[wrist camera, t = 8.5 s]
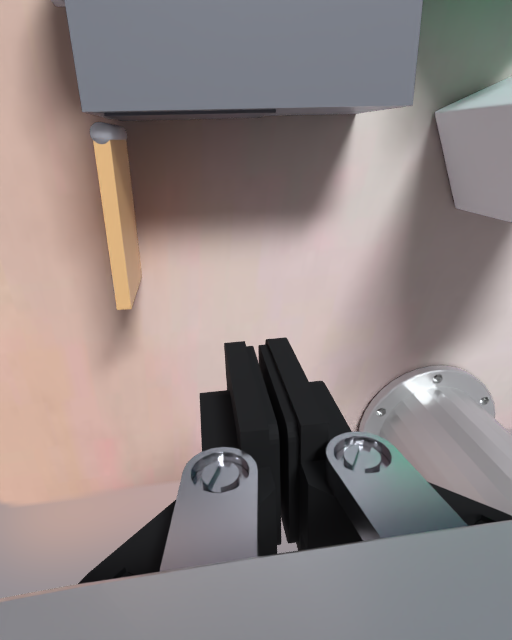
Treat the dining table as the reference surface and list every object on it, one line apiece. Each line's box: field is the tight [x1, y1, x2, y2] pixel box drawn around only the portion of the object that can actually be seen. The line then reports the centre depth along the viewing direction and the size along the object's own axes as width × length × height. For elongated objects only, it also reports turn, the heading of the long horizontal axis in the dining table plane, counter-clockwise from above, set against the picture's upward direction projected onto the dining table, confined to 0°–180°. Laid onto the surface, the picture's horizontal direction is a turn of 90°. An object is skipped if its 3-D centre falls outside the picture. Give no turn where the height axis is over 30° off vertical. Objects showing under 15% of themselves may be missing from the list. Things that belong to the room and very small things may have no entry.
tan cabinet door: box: [90, 122, 142, 310], centre depth 26 cm, size 1×10×6 cm, turn 1°
